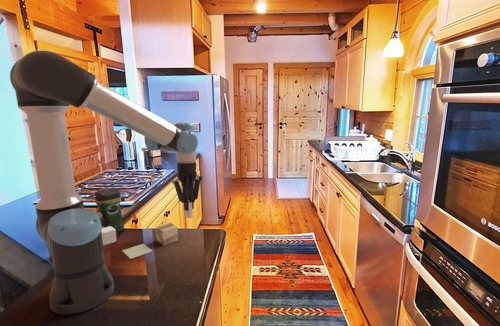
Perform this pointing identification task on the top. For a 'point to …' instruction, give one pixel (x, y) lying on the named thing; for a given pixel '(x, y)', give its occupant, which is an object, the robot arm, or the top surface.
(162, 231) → the maple block
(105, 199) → the coffee jar
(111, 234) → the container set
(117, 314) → the top surface
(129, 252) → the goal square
